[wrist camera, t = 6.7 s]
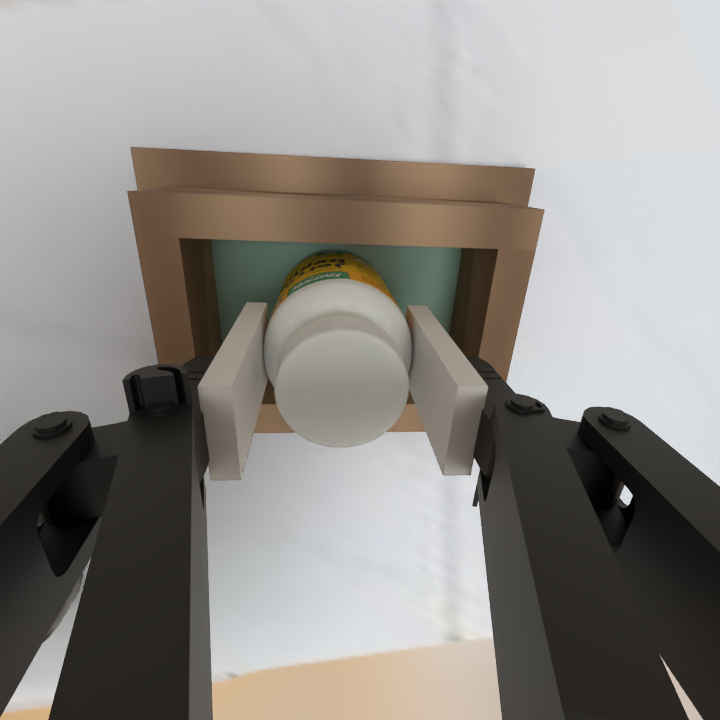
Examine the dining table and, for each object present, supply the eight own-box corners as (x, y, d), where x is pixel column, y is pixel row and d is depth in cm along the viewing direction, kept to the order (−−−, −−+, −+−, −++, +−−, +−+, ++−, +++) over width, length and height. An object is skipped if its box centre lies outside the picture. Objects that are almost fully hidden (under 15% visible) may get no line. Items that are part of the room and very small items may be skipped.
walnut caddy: (180, 399, 23) (141, 460, 19) (140, 148, 18) (69, 138, 13) (480, 399, 25) (518, 455, 20) (525, 168, 20) (593, 167, 15)
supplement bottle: (326, 367, 22) (327, 494, 13) (258, 293, 20) (206, 385, 11) (407, 308, 21) (465, 404, 12) (343, 222, 19) (358, 265, 10)
